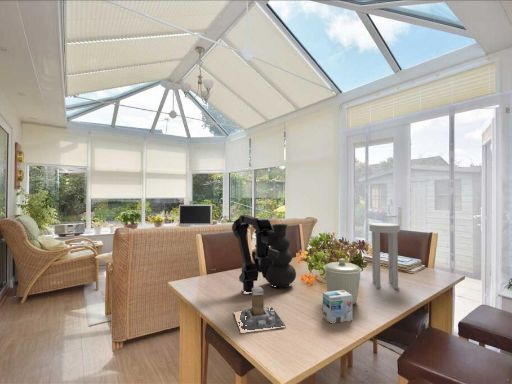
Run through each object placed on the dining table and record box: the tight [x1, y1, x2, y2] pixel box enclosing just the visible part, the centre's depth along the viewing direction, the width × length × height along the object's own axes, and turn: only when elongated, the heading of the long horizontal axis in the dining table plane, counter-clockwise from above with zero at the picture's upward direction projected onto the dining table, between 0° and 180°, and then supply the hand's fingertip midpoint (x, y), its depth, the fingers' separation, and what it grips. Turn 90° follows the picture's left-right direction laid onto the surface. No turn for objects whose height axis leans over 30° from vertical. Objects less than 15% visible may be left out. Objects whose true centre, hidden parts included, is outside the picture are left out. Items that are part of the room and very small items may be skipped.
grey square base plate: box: [238, 306, 286, 330], centre depth 114 cm, size 18×18×4 cm
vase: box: [264, 223, 297, 288], centre depth 157 cm, size 18×18×35 cm
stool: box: [368, 222, 401, 290], centre depth 157 cm, size 16×16×35 cm
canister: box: [322, 258, 363, 306], centre depth 133 cm, size 18×18×21 cm
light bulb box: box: [322, 290, 353, 324], centre depth 115 cm, size 11×7×11 cm, turn 105°
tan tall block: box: [251, 287, 265, 316], centre depth 114 cm, size 4×4×12 cm
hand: (262, 275), depth 134 cm, fingers open, 9 cm apart
